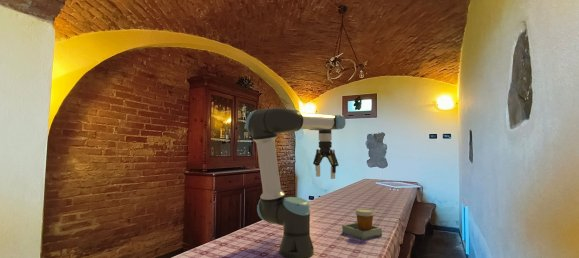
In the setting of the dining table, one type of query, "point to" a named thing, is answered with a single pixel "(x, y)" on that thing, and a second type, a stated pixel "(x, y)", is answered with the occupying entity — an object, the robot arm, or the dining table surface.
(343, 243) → the dining table surface
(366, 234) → the bin
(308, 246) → the robot arm
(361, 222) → the disposable coffee cup
